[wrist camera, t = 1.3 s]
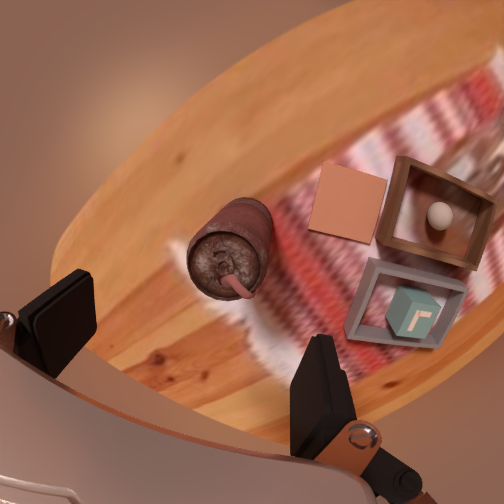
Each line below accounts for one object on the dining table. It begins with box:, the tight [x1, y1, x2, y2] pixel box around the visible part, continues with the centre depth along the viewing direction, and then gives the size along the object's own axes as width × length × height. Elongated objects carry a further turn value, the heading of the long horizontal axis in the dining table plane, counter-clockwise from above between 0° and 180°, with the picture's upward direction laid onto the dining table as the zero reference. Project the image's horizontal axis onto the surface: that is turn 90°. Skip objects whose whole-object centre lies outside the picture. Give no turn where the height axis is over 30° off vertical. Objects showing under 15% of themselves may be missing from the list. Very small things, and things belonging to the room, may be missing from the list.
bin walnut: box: [375, 156, 498, 271], centre depth 28 cm, size 16×10×3 cm, turn 79°
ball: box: [427, 202, 453, 230], centre depth 28 cm, size 4×4×4 cm
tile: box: [308, 161, 387, 244], centre depth 30 cm, size 8×8×1 cm
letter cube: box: [385, 284, 441, 339], centre depth 32 cm, size 5×5×5 cm
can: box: [187, 197, 272, 301], centre depth 26 cm, size 6×6×14 cm
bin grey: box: [343, 257, 469, 349], centre depth 33 cm, size 16×10×3 cm, turn 79°
